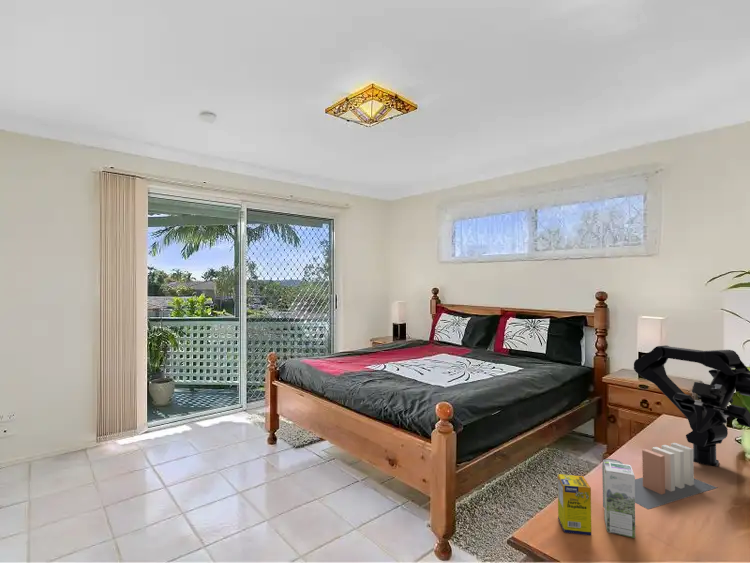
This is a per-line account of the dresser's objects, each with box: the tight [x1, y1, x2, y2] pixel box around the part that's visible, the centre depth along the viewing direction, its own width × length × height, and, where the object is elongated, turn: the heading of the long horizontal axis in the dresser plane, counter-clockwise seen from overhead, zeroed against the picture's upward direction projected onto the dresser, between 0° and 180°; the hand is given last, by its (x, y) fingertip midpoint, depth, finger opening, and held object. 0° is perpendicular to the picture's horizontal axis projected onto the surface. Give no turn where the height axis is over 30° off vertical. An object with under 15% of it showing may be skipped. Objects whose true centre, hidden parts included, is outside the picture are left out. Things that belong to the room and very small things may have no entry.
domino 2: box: [661, 444, 685, 489], centre depth 115 cm, size 2×5×10 cm, turn 22°
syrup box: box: [603, 461, 636, 539], centre depth 95 cm, size 6×6×14 cm
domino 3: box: [670, 442, 695, 486], centre depth 117 cm, size 2×5×10 cm, turn 22°
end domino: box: [641, 448, 665, 494], centre depth 112 cm, size 2×5×10 cm, turn 22°
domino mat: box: [635, 476, 718, 510], centre depth 113 cm, size 28×12×1 cm, turn 112°
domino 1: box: [651, 446, 675, 491], centre depth 114 cm, size 2×5×10 cm, turn 22°
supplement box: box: [557, 473, 592, 536], centre depth 96 cm, size 6×6×11 cm
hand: (698, 431), depth 119 cm, fingers closed
